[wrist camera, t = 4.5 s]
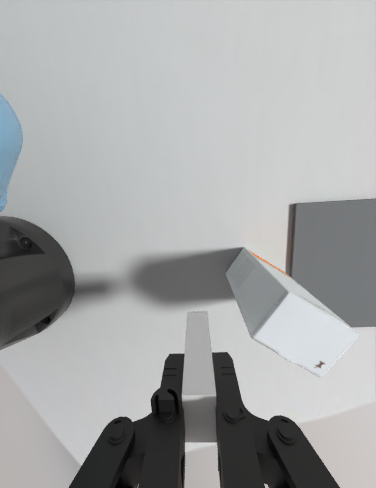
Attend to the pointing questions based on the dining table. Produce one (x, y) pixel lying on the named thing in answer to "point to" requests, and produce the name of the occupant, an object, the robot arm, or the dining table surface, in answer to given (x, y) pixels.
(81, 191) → the dining table surface
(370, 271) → the mat
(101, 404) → the dining table surface
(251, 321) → the skincare box
